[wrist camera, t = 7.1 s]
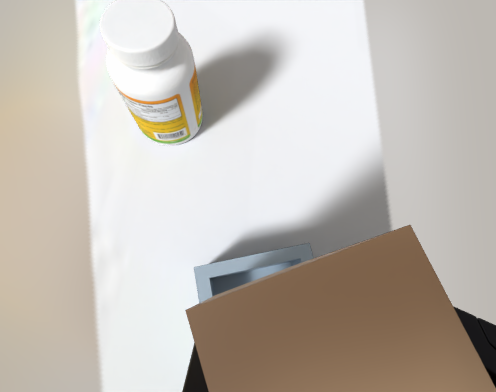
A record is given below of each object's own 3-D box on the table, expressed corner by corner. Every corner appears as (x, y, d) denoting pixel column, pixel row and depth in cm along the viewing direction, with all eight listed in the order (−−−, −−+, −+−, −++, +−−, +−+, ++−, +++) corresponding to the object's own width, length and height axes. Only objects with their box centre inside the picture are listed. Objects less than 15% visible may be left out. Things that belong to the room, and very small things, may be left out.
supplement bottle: (169, 81, 26) (136, -32, 17) (216, 115, 25) (208, 17, 16) (125, 122, 25) (62, 24, 15) (173, 160, 24) (138, 80, 15)
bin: (322, 354, 20) (343, 370, 17) (218, 381, 20) (215, 404, 16) (295, 250, 22) (309, 242, 19) (200, 270, 22) (193, 267, 18)
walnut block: (327, 350, 15) (551, 494, 5) (245, 386, 14) (283, 654, 4) (294, 265, 16) (410, 224, 6) (216, 295, 16) (185, 310, 5)
